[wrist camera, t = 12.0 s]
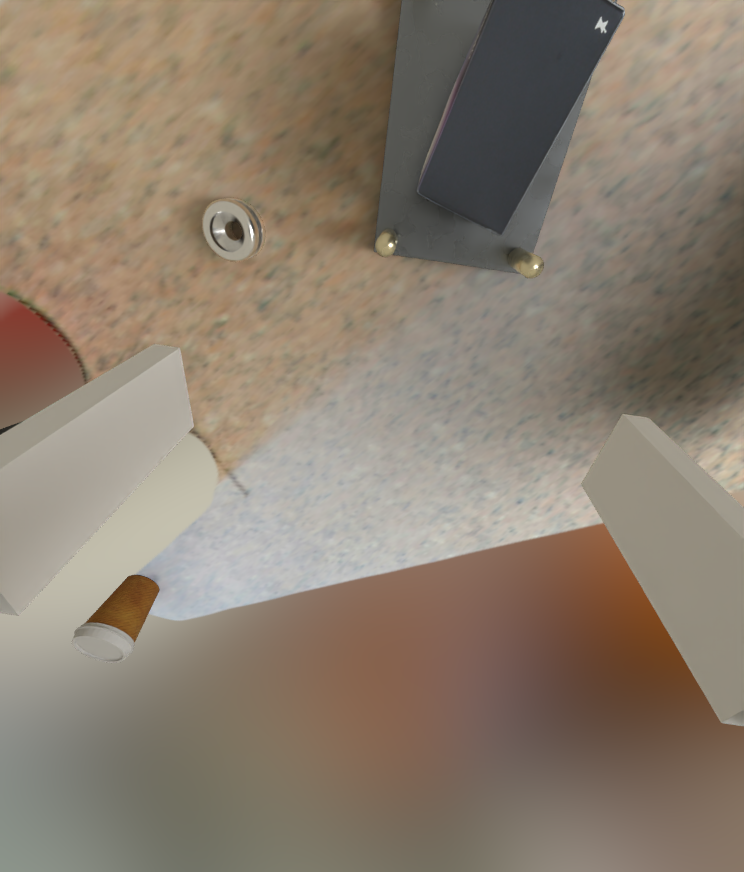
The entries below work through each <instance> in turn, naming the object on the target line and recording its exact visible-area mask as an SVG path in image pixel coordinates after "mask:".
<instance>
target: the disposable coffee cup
mask: <svg viewBox="0 0 744 872" xmlns="http://www.w3.org/2000/svg"><path fill="white" fill-rule="evenodd" d="M158 592H159V587H158V585H157V584H156V583H155V582H154V581H152V580H151V579H149V578H147V577H144V576H140V575H131V576H129V577H127V578H126V579H125V581H124V582H123V583H122V584H121V585H120V586H119V587H118V588H117V589H116V590H115V591H114V592H113V594H112V595H111V596H110V597H109V598H108V599H107V600H106V601H105V602H104V603H103V604H102V605H101V607H100V608H99V609H98V610H97V611H96V612H95V613H94V614H93V615H92V616H91V617H90V618H89V620H88V621H87V622H86V623H85V624H83V625H81V627H79V628H77V629H76V630H75V636H74V638H73V640H72V645H73V646H74V648H75V649H76V650H78V651H79V652H81V653H82V654H84V655H86V656H88V657H90V658H93V659H95V660H99V661H103V662H109V663H117V662H121V661H123V660H124V659H125V658H126V657H127V656H128V655H129V654H131V653H132V652H133V649H134V642H135V640H136V638H137V637H138V634H139V632H140V630H141V628H142V626H143V624H144V622H145V619H146V617H147V615H148V613H149V611H150V609H151V607H152V605H153V603H154V601H155V598H156V596H157V594H158Z"/></svg>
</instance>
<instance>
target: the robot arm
mask: <svg viewBox="0 0 744 872" xmlns="http://www.w3.org/2000/svg"><path fill="white" fill-rule="evenodd" d="M193 427H194V423H193V417H192V412H191V406H190V401H189V395H188V390H187V384H186V379H185V373H184V368H183V362H182V357H181V351H180V348H178V347H171V346H165V345H158V344H153V345H151V346H150V347H148V348H146V349H145V350H143V351H141V352H140V353H138V354H136V355H135V356H133V357H131V358H129V359H128V360H126V361H124V362H123V363H121V364H119V365H118V366H116V367H114V368H113V369H111V370H109V371H108V372H106V373H104V374H102V375H101V376H99V377H97V378H96V379H94V380H92V381H91V382H89V383H87V384H86V385H84V386H82V387H80V388H79V389H77V390H75V391H74V392H72V393H70V394H69V395H67V396H65V397H64V398H62V399H60V400H58V401H57V402H55V403H53V404H52V405H50V406H48V407H47V408H45V409H43V410H42V411H40V412H39V413H37V414H35V415H33V416H31V417H30V418H28V419H26V420H25V421H22V422H20V423H17V424H14V425H11V426H9V427H6V428H3V429H0V613H3V614H10V615H17V616H19V615H20V614H21V613H22V612H23V611H24V610H25V609H26V607H27V606H28V605H29V604H30V603H31V602H32V601H33V600H34V599H35V598H36V597H37V596H38V594H39V593H40V592H41V591H42V590H43V589H44V588H45V587H46V586H47V585H48V584H49V583H50V581H51V580H52V579H53V578H54V577H55V576H56V575H57V574H58V573H59V572H60V570H62V568H63V567H64V566H65V565H66V564H67V563H68V562H69V561H70V560H71V559H72V558H73V557H74V555H75V554H76V553H77V552H78V551H79V550H80V549H81V548H82V547H83V546H84V545H85V544H86V542H87V541H88V540H89V539H90V538H91V537H92V536H93V535H94V534H95V533H96V532H97V531H98V530H99V528H100V527H101V526H102V525H103V524H104V523H105V522H106V521H107V520H108V519H109V518H110V517H111V515H112V514H113V513H114V512H115V511H116V510H117V509H118V508H119V507H120V506H121V505H122V504H123V502H124V501H125V500H126V499H127V498H128V497H129V496H130V495H131V494H132V493H133V492H134V491H135V490H136V488H137V487H138V486H139V485H140V484H141V483H142V482H143V481H144V480H145V479H146V477H148V475H149V474H150V473H151V472H152V471H153V470H154V469H155V468H156V467H157V466H158V465H159V463H160V462H161V461H162V460H163V459H164V458H165V457H166V456H167V455H168V454H169V453H170V452H171V450H172V449H173V448H174V447H175V446H176V445H177V444H178V443H179V442H180V441H181V440H182V439H183V437H185V435H186V434H187V433H188V432H189V431H190V430H191V429H192V428H193ZM581 485H582V487H583V488H584V490H585V492H586V493H587V495H588V497H589V499H590V500H591V502H592V504H593V505H594V507H595V509H596V510H597V512H598V514H599V516H600V517H601V519H602V521H603V522H604V524H605V526H606V527H607V529H608V531H609V533H610V534H611V536H612V538H613V539H614V541H615V543H616V544H617V546H618V548H619V550H620V551H621V553H622V555H623V556H624V558H625V560H626V561H627V563H628V565H629V567H630V568H631V570H632V572H633V573H634V575H635V577H636V579H637V580H638V582H639V583H640V585H641V587H642V588H643V590H644V592H645V594H646V596H647V597H648V599H649V601H650V602H651V604H652V606H653V607H654V609H655V611H656V612H657V614H658V616H659V618H660V619H661V621H662V623H663V624H664V626H665V628H666V630H667V631H668V633H669V635H670V636H671V638H672V640H673V641H674V643H675V645H676V647H677V648H678V650H679V652H680V653H681V655H682V657H683V659H684V660H685V662H686V664H687V665H688V667H689V669H690V670H691V672H692V674H693V675H694V677H695V679H696V680H697V682H698V684H699V686H700V687H701V689H702V691H703V693H704V694H705V696H706V697H707V699H708V701H709V703H710V705H711V706H712V708H713V710H714V711H715V712H716V715H717V716H718V718H719V720H720V722H721V723H726V724H733V725H739V726H744V507H743V506H742V505H741V504H740V503H739V502H738V501H736V500H735V499H734V498H733V497H732V496H731V495H730V494H729V493H728V492H727V491H726V490H725V489H724V488H723V487H722V486H721V485H719V484H718V483H717V482H716V481H715V480H714V479H713V478H712V477H711V476H710V475H709V474H708V473H707V472H706V471H705V470H704V469H703V468H701V467H700V466H699V465H698V464H697V463H696V462H695V461H694V460H693V459H692V458H691V457H690V456H689V455H688V454H687V453H686V452H684V451H683V450H682V449H681V448H680V447H679V446H678V445H677V444H676V443H675V442H674V441H673V440H672V439H671V438H670V437H669V436H668V435H666V434H665V433H664V432H663V431H662V430H661V429H660V428H659V427H658V426H657V425H656V424H655V423H654V422H653V421H652V420H651V419H649V418H648V417H641V416H634V415H627V414H622V416H621V417H620V419H619V421H618V422H617V424H616V426H615V428H614V429H613V431H612V433H611V434H610V436H609V438H608V439H607V441H606V443H605V444H604V446H603V448H602V450H601V451H600V453H599V455H598V456H597V458H596V460H595V461H594V463H593V465H592V466H591V468H590V470H589V472H588V473H587V475H586V477H585V478H584V480H583V482H582V483H581Z"/></svg>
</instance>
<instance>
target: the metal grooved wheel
mask: <svg viewBox="0 0 744 872" xmlns="http://www.w3.org/2000/svg"><path fill="white" fill-rule="evenodd" d="M233 222H236V223H237V224H238V225H239V226H240V227H241V230H242V236H241V238H240V239H239V238H237V237H235V235H234V234H233V232H232V229H231V227H232V223H233ZM202 231H203V235H204V238H205V240H206V242H207V244H208V245H209V247H210V248H211V250H212V251H213V252H214V253H215V254H216V255H218V256H219V257H221V258H222V259H224V260H227V261H230V262H242V261H245V260H247V259H249V258H252V257H254V256H256V255H257V254H258V253H259V252H260V251H261V250H262V248H263V246H264V243H265V238H266V231H265V226H264V222H263V220H262V218H261V216H260V214H259V213H258V211H257V210H256V209H255V208H254V207H253V206H252V205H251V204H249V203H248V202H246V201H244V200H242V199H238V198H228V199H218V200H215V201H213V202H211V203H210V204H209V205H208V206H207V208H206V209H205V211H204V213H203V217H202Z"/></svg>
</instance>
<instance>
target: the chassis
mask: <svg viewBox="0 0 744 872" xmlns="http://www.w3.org/2000/svg"><path fill="white" fill-rule="evenodd" d="M612 1H613V2H615V3H616V2H617V0H612ZM490 2H491V0H402V4H401V12H400V21H399V30H398V39H397V48H396V57H395V66H394V75H393V84H392V93H391V102H390V111H389V120H388V129H387V138H386V147H385V156H384V165H383V174H382V183H381V192H380V201H379V209H378V218H377V227H376V236H375V245H374V252H377V253H378V254H379V255H380V256H382V257H389V256H391V255H399V256H405V257H412V258H419V259H426V260H432V261H439V262H446V263H453V264H460V265H466V266H473V267H480V268H487V269H493V270H500V271H507V272H514V273H521V274H522V275H524V276H525V277H527V278H535V277H537V276H538V275H540V273H541V272H542V270H543V268H544V262H543V260H542V259H541V258H540V257H538V256H536V255H534V254H533V251H534V248H535V245H536V242H537V239H538V236H539V233H540V230H541V227H542V224H543V221H544V218H545V215H546V212H547V209H548V206H549V203H550V200H551V197H552V194H553V191H554V188H555V185H556V182H557V179H558V176H559V173H560V170H561V167H562V164H563V161H564V158H565V155H566V152H567V149H568V146H569V143H570V140H571V137H572V134H573V131H574V128H575V125H576V122H577V119H578V116H579V113H580V110H581V107H582V104H583V101H584V98H585V95H586V92H587V89H588V86H589V83H590V80H591V77H592V76H591V77H590V79H589V81H588V83H587V84H586V86H585V88H584V90H583V92H582V93H581V95H580V97H579V99H578V101H577V102H576V104H575V106H574V108H573V109H572V111H571V113H570V115H569V117H568V118H567V120H566V122H565V124H564V126H563V127H562V129H561V131H560V133H559V135H558V137H557V139H556V140H555V142H554V144H553V146H552V148H551V149H550V151H549V153H548V155H547V157H546V158H545V160H544V162H543V164H542V165H541V167H540V169H539V171H538V173H537V174H536V176H535V178H534V180H533V182H532V183H531V185H530V187H529V188H528V190H527V192H526V194H525V196H524V198H523V200H522V201H521V203H520V205H519V207H518V208H517V210H516V212H515V214H514V216H513V217H512V219H511V221H510V223H509V225H508V226H507V228H506V230H505V232H504V234H503V235H501V236H499V235H496V234H494V233H492V232H491V231H488V230H486V229H484V228H482V227H480V226H478V225H476V224H474V223H472V222H470V221H469V220H466V219H464V218H462V217H460V216H459V215H456V214H454V213H452V212H451V211H448V210H446V209H444V208H442V207H440V206H438V205H436V204H434V203H432V202H431V201H429V200H427V199H426V198H424V197H422V196H421V195H419V194H418V193H417V187H418V183H419V179H420V176H421V172H422V169H423V166H424V163H425V160H426V157H427V154H428V152H429V149H430V146H431V144H432V141H433V138H434V136H435V133H436V131H437V128H438V125H439V123H440V120H441V117H442V115H443V112H444V109H445V107H446V104H447V102H448V99H449V97H450V94H451V92H452V89H453V87H454V85H455V82H456V80H457V77H458V75H459V73H460V70H461V68H462V66H463V63H464V61H465V59H466V56H467V54H468V52H469V49H470V47H471V45H472V42H473V40H474V38H475V35H476V33H477V31H478V28H479V26H480V24H481V21H482V19H483V17H484V15H485V13H486V10H487V8H488V6H489V4H490Z"/></svg>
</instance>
